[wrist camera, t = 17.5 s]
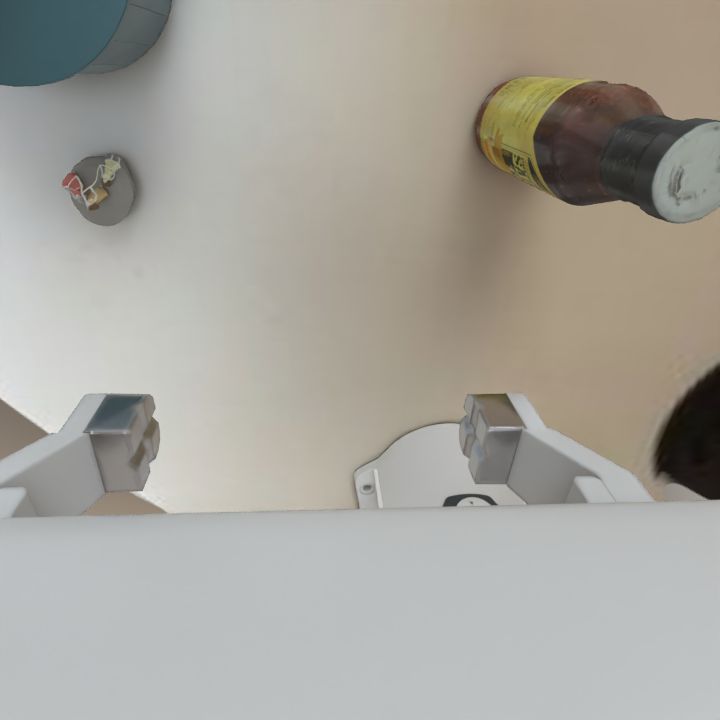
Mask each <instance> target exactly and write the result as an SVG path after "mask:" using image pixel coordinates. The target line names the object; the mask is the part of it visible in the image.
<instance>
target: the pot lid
mask: <svg viewBox="0 0 720 720" xmlns="http://www.w3.org/2000/svg"><path fill="white" fill-rule="evenodd" d="M130 1H131V0H0V85H7V86H15V87H16V86H40V85H46V84H52V83H56V82H59V81H62V80H65V79H68V78H70V77H72V76H74V75H76V74H78V73H80V72H82V71H83V70H85V69H86V68H88V67H89V66H90V65H91V64H93V63H94V62H95V61H96V60H98V59H99V58H100V56H101V55H102V54H103V53H104V52H105V51H106V50H107V49H108V48H109V46H110V45H111V43H112V42H113V40H114V39H115V37H116V35H117V34H118V32H119V31H120V28H121V26H122V24H123V21H124V19H125V17H126V15H127V12H128V8H129V4H130Z"/></svg>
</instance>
